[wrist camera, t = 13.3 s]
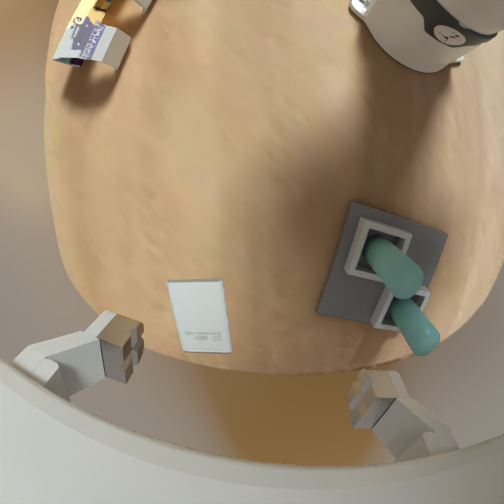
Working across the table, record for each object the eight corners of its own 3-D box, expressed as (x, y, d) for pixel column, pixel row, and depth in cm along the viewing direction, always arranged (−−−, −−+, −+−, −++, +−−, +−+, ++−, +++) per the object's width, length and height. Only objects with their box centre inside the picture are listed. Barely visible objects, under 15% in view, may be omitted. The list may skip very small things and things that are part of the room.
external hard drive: (223, 276, 39) (233, 347, 43) (169, 278, 40) (184, 345, 44) (221, 281, 37) (231, 353, 41) (165, 282, 38) (182, 351, 42)
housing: (350, 200, 33) (382, 221, 23) (443, 232, 34) (489, 259, 23) (315, 309, 39) (327, 360, 28) (405, 324, 39) (432, 369, 28)
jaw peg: (367, 231, 33) (398, 259, 24) (393, 238, 33) (429, 267, 24) (358, 259, 35) (384, 295, 25) (383, 266, 35) (414, 302, 25)
